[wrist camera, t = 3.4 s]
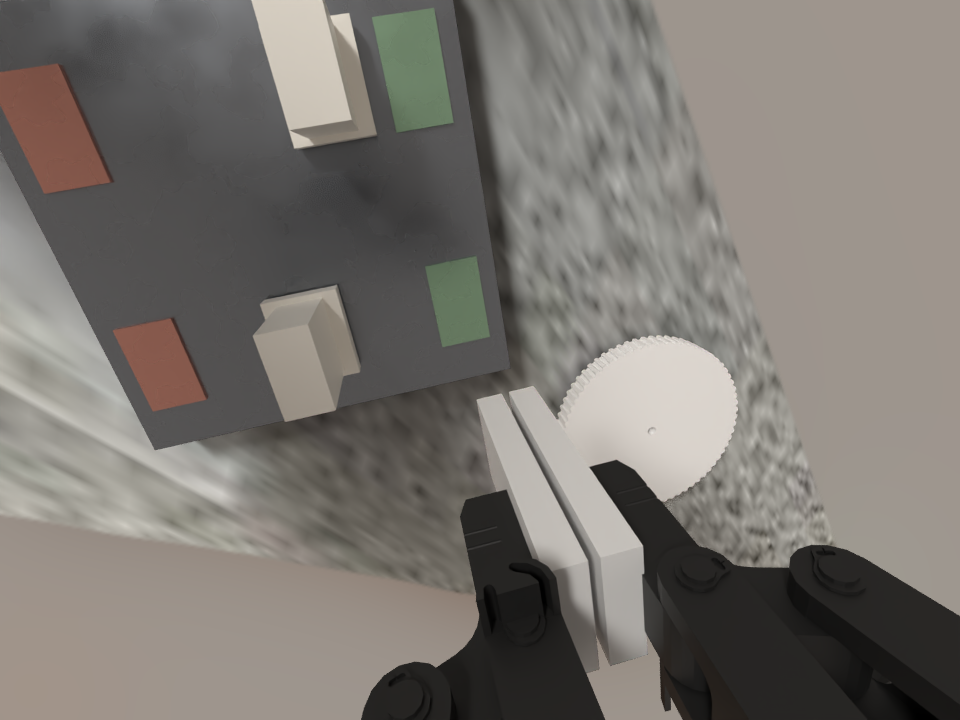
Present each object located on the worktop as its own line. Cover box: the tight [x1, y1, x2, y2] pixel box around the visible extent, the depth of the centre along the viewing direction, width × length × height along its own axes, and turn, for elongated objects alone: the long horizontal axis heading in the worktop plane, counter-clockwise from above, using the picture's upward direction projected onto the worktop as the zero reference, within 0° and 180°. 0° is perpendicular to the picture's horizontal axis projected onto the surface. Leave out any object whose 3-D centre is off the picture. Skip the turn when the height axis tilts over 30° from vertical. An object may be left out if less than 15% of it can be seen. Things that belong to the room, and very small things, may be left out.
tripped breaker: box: [253, 285, 361, 422], centre depth 25 cm, size 4×5×6 cm
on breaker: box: [251, 0, 377, 150], centre depth 20 cm, size 4×5×6 cm
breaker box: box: [0, 0, 510, 450], centre depth 27 cm, size 22×22×3 cm
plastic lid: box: [557, 335, 738, 502], centre depth 37 cm, size 14×14×2 cm
